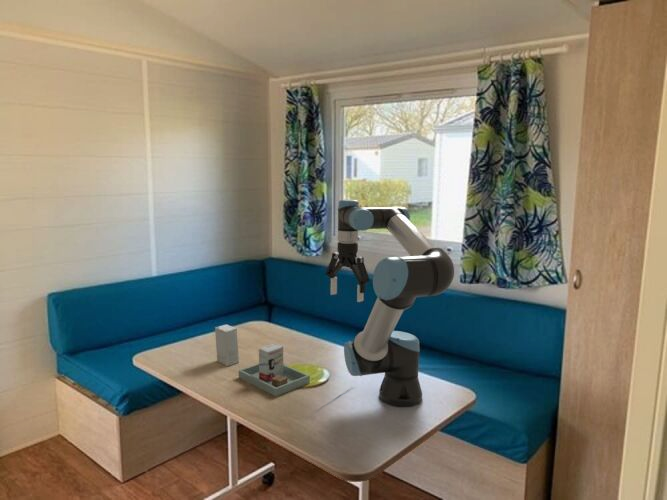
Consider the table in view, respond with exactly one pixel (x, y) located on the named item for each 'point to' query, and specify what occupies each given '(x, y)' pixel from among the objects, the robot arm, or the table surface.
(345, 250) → the robot arm
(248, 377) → the tray
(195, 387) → the table surface
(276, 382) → the walnut block
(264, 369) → the ink box
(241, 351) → the table surface
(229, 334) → the skincare box
